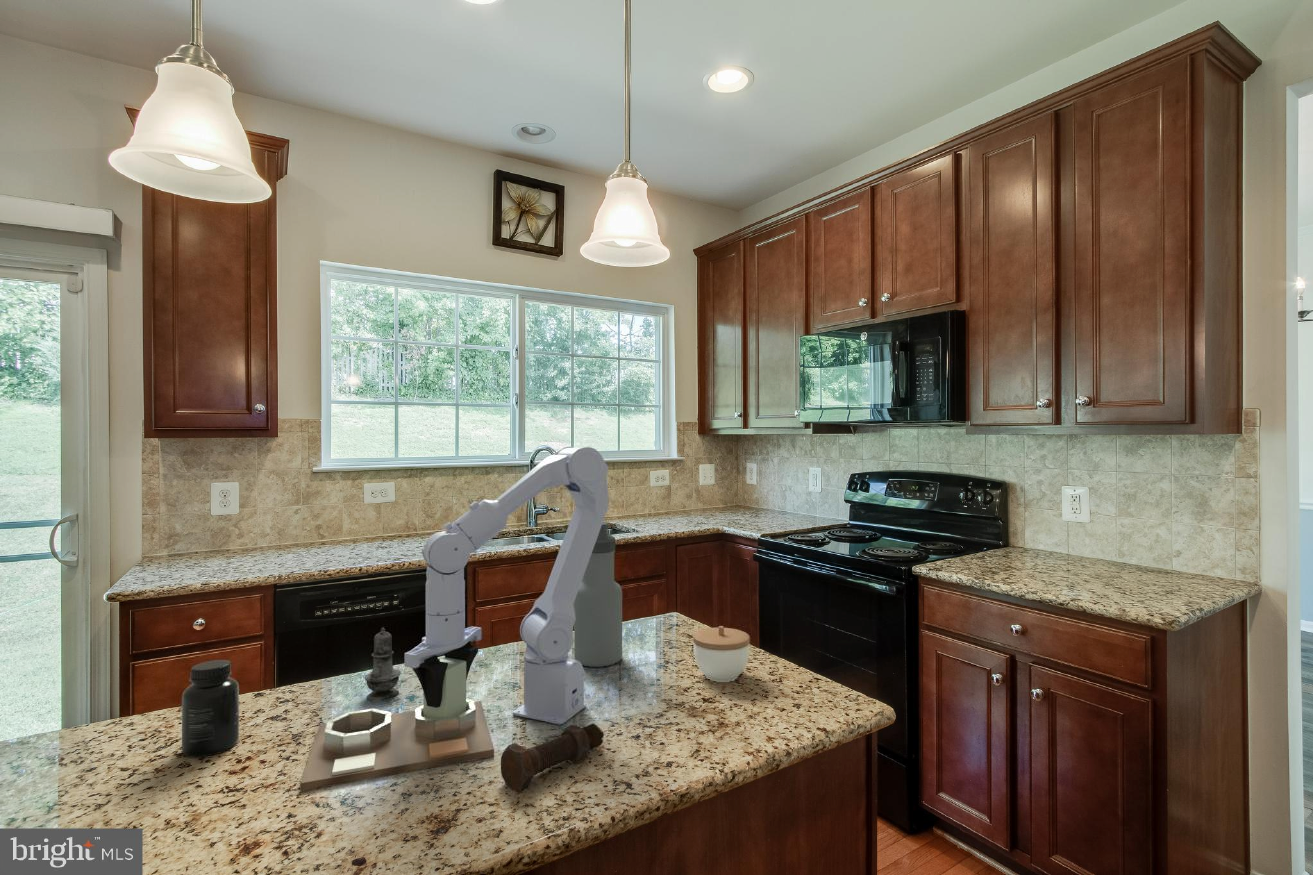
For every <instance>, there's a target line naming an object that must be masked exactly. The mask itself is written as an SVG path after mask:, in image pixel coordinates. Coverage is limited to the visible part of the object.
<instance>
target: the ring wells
mask: <svg viewBox="0 0 1313 875" xmlns="http://www.w3.org/2000/svg"><path fill="white" fill-rule="evenodd" d="M474 702H475V701H474V700H473V699H468V698H466V712H464V713H462V714H461V715H459V716H457V717H452V718H445V719H439V720H435V719H430V718H426V717H423V704H422V705H420V706H417V708H415V710H414V711H415V733H416V735H417V736H421V737H425V738H429V739H433V740H434V739H441V738H447V737H453V736H459V735H461V734H463V733H464V732H466V731H468V730H469V729H471V728H473V727H474V726H475V725H476V709H475V705H474ZM391 714H392V712H391V711H387V710H382V709H378V708H368V709H361V710H353V711H348V712H346V713H344V714H341V715H339V716H337V717H335V718H332V719H331V720H328V721H327V723H326V724H327V726H326V729H325V750H327V751H331V752H334V753H338V754H343V755H344V754H350V753H356V752H362V751H368V750H372V749H374V748H376V747H377V746H379V745H381V744H383V743H385V742H386V741H388V740H390V739H391ZM371 727H372V729H370V730H367V731H361V732H354V733H348V734H345V733H346V732H348V731H351V730H358V729H364V728H371Z"/></svg>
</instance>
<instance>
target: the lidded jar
mask: <svg viewBox="0 0 1313 875" xmlns="http://www.w3.org/2000/svg"><path fill="white" fill-rule="evenodd" d="M692 642H693V654H694V659H695V663H696V665H697V668H698V669H699V671H700V672H701V673H702V674H703V675H705V676H706V677H705V676H704V677H705V678H706V679H707V680H708V679H710V680H709V681H711V682H714V681H716V682H715V683H731V682H730V681H732V682H734V681H736V680H737V679H738V678H739V676H740V675H741V674H742V673H743V672H744V671H745V669H746V668H747V665H748V660H749V658H750V657H749V655H750V642H751V637H750V634H748V633H747V632H745V631H742V630H741V629H736V628H731V627H730V628H729V627H725V626H723V625H719V626H718V627H709V628H708V627H707V628H702V629H699V630H697V631H695V632H694V633H693V635H692ZM735 679H736V680H735Z"/></svg>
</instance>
